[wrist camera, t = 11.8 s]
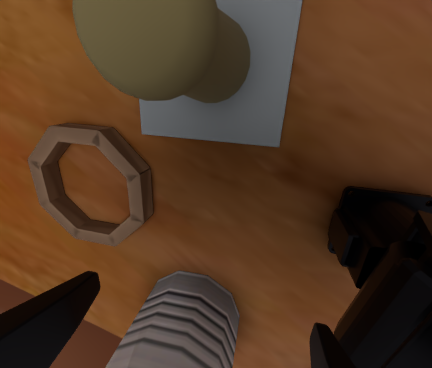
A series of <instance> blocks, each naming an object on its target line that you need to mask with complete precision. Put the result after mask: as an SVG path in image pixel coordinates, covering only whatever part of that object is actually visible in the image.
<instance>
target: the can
mask: <svg viewBox="0 0 432 368" xmlns="http://www.w3.org/2000/svg"><path fill="white" fill-rule="evenodd" d="M239 317H240V315H239V313H238V310H237V307H236V304H235V301H234V299H233V296H232V293H231V292H229V291H228V290H227V289H225V288H224V287H223V286H221V285H220V284H219V283H217V282H216V281H215V280H213V279H212V278H211V277H209V276H208V275H202V274H197V273H191V272H185V271H177V272H175V273H172V274H170V275H168V276H166V277H164V278H161V279H159V280H158V281H157V283H156V285H155V286H154V288H153V290H152V291H151V293H150V295H149V296H148V298H147V300H146V301H145V303H144V305H143V306H142V308H141V310H140V311H139V313H138V315H137V316H136V318H135V320H134V321H133V323H132V325H131V326H130V328H129V329H128V331H127V333H126V334H125V336H124V338H123V339H122V341H121V343H120V344H119V346H118V348H117V349H116V351H115V353H114V354H113V356H112V358H111V359H110V361H109V363H108V364H107V366H106V368H232V366H233V359H234V352H235V345H236V338H237V331H238V324H239Z"/></svg>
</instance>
